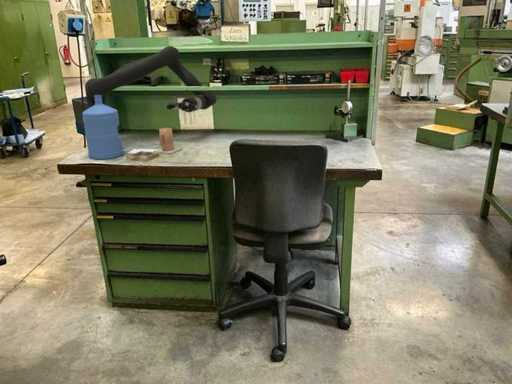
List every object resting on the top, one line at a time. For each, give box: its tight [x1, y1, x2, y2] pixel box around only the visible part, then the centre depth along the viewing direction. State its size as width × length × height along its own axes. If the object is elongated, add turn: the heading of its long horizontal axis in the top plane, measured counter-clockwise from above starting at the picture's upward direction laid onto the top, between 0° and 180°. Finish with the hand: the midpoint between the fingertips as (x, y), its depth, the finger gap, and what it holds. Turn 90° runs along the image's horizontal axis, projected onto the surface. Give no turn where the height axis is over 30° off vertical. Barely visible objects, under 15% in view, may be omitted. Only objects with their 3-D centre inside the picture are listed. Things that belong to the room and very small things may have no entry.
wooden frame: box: [126, 150, 160, 163], centre depth 191 cm, size 10×10×2 cm
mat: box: [152, 146, 183, 155], centre depth 202 cm, size 10×10×1 cm
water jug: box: [81, 95, 124, 160], centre depth 192 cm, size 16×16×28 cm
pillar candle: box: [158, 127, 175, 151], centre depth 199 cm, size 6×8×10 cm
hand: (174, 107), depth 207 cm, fingers open, 8 cm apart
